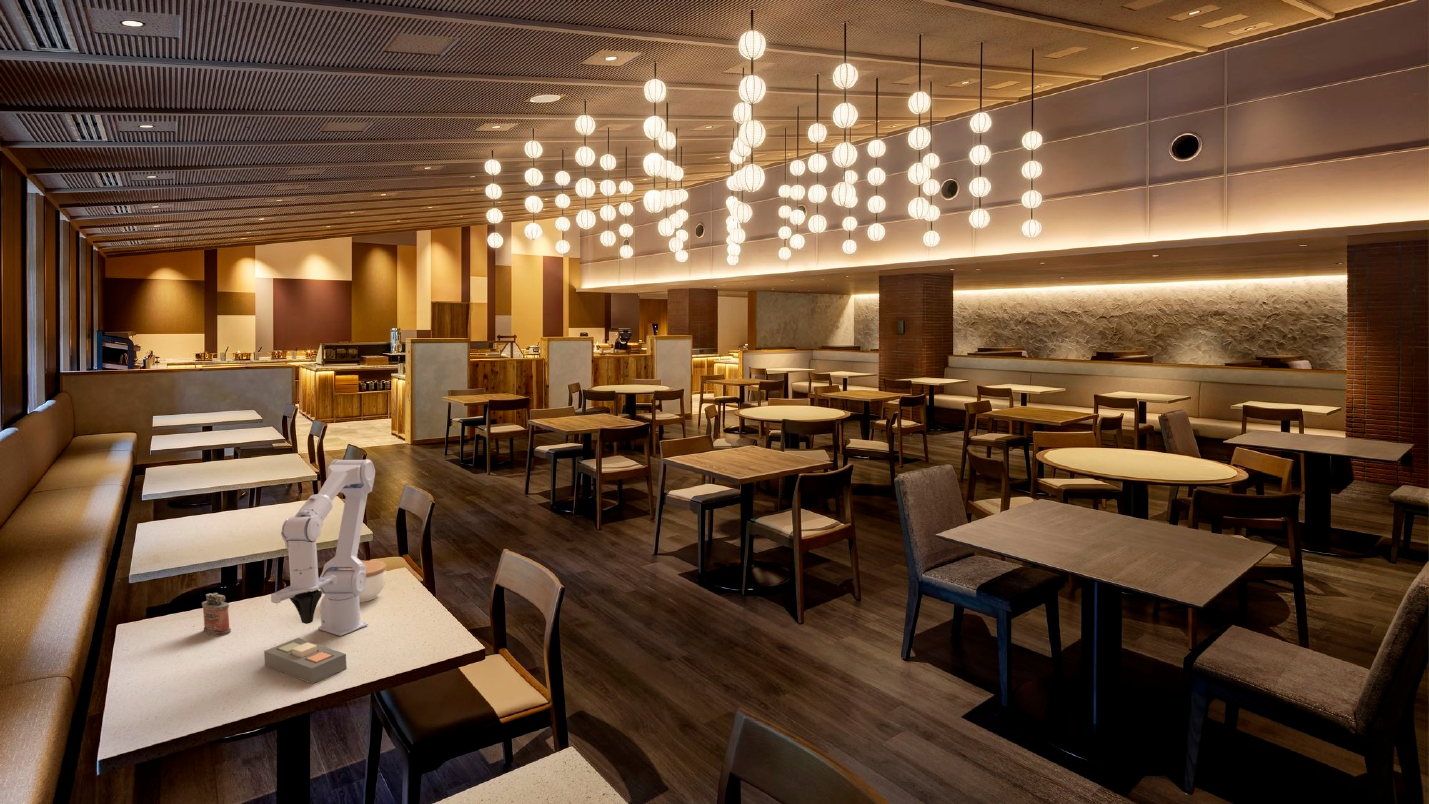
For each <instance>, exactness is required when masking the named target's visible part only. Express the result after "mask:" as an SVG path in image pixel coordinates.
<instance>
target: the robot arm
mask: <svg viewBox="0 0 1429 804" xmlns="http://www.w3.org/2000/svg"><path fill="white" fill-rule="evenodd" d="M375 477H376V469H375V466H374V463H373V461H372V460H371V459H338V458H337V459H336V458H335V459H333V460H332V461H331V462H330V463H329V466H327V478H326V480H325V481H324V483H323V485H322V486H321V488H320V490H319V492H318V493H317V494H312V495H311V494H310V496H309V497H308V498H307V499H306V500H305V502H304V504H303V505H302V506H301V507H300V509H299V510H298V511H297V513H296V514H295V515H294V516H290V517H288V518H287V519H285V520H284V522H283V524H282V527H281V532H280V535H281V538H282V540H283V541H284V544H285V545H284V546H285V547H284V548H286V550H288V552H287V553H288V566H289V567H288V569H289V578H290V581H289V582H290V585H289V586H286V587H285V588H282V589H280V590H278V591H276V592H273V593H270V600H271V603H273V604H280V603H282V601H286V600H288V599H289V600H290V601H291V603H292V604H293V606H294V607H295V609H296V611H297V612H298V614H299V617H300V620H301V623H302V624H306V625H309V624H311V623H313V621H314V616H315V612H316V608H317V605H318V603H319V601H320V599H321V601H320V603H319V606H320V608H319V609H320V626H318V627H317V629H318V630H321V631H324V632H327V633H330V634H332V635H337V636H339V637H343V636H344V635H345V636H346V634H349V633H352V632H354V631H357V630H359V629H361V628H364V627H367V626H368V625H369V623H368V622H366V621H362V620H361V609H360V606H361V605H360V602H359V594H360V593H361V592H362V591H363V589H364V587H365V585H366V566H365V564H364V563H363V562H362V561H361V559H359V558H358V554H359V553H358V551H359V546H360V541H361V540H360V539H361V534H362V528H363V521H364V515H365V510H366V505H367V499H368V494H369V493H371V492H373V487H374V483H375ZM339 493H341V494H343V495H344V496H345V501H344V505H343V511H342V516H341V522H340V526H339V527H340V528H339V532H338V539H337V545H336V551H335V554H334V556H333V558H331V559H330V560H328V561H327V562H325V564H324V565H323V568H322V572H321V573H320V576H319V569H318V568H319V567H318V550H317V540H318V538H319V537H320V536H321V531H322V528H323V524H324V520H326V518H327V516H328V514H329V513H330V512H331V511H332V509H333V502H332V501H333V500H334V499H335V498H336V497H337V495H338V494H339ZM338 569H354V570H338ZM322 595H324V596H323V597H322ZM321 597H322V598H321Z"/></svg>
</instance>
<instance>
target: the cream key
mask: <svg viewBox="0 0 1429 804" xmlns="http://www.w3.org/2000/svg"><path fill="white" fill-rule="evenodd" d="M316 652H317V645H314V644H311V643H308V642H307V643H305V644H302V645H299V646H297V647H294V648H292V655H293V656H296V657H299V658H303V657H306V656H308V655H311V654H313V653H316Z"/></svg>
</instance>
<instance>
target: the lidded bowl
mask: <svg viewBox="0 0 1429 804" xmlns="http://www.w3.org/2000/svg"><path fill="white" fill-rule="evenodd" d="M360 561H362V562H363V563H364V564H365V566H366V585H365V587H364V589H363V591H362V592H361V593H360V594H359V603H365V601H366V602H369V601H371V600H372V599H373V600H375V599H376V598H377V597H378V595H379V594H380V593H381V592H382V590H383V588H384V587H385V584H386V580H387V579H386V577H387V575H386V574H387V564H386V562H383V561H380V560H364V559H363V560H361V559H360ZM338 570H354V569H338ZM373 600H372V601H373Z"/></svg>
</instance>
